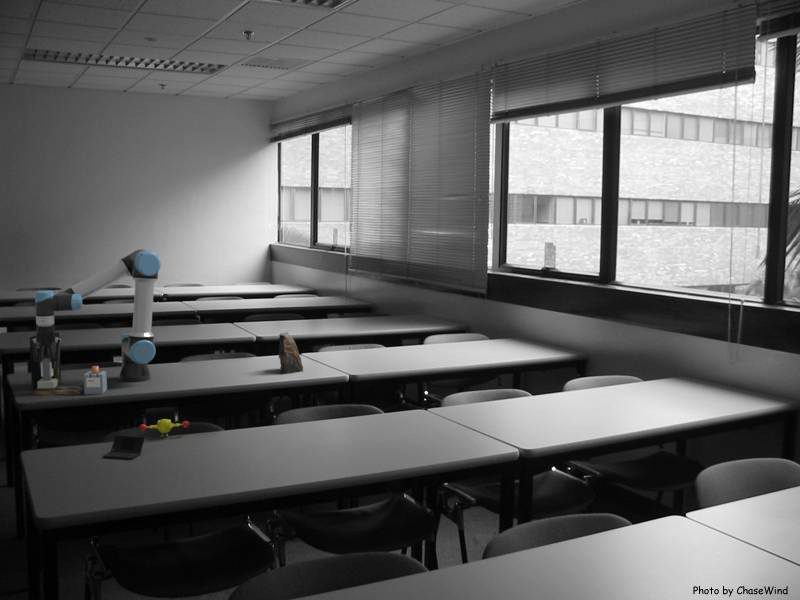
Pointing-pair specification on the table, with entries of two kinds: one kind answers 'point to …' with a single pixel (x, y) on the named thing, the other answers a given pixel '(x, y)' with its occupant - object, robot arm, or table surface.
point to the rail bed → (58, 390)
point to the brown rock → (289, 355)
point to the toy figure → (164, 426)
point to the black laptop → (125, 448)
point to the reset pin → (95, 370)
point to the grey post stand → (47, 376)
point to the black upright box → (35, 366)
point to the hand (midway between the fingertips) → (47, 375)
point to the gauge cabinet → (95, 382)
